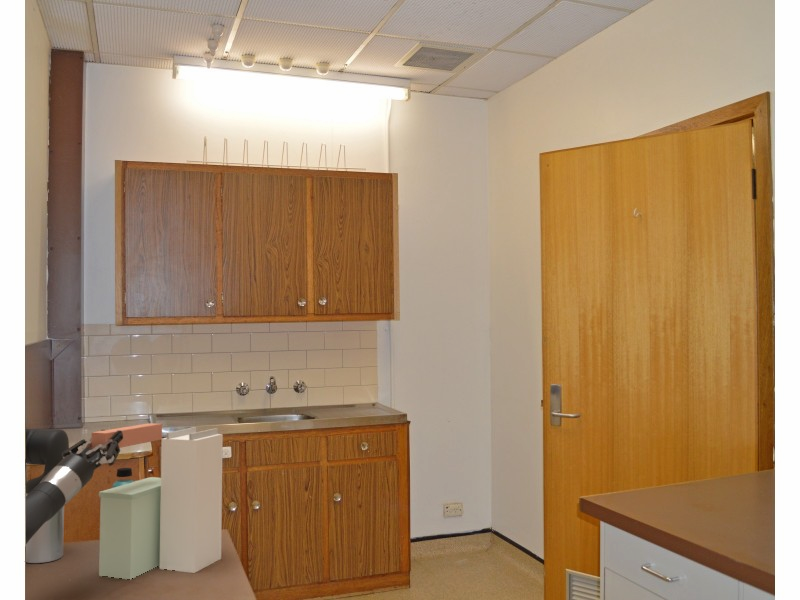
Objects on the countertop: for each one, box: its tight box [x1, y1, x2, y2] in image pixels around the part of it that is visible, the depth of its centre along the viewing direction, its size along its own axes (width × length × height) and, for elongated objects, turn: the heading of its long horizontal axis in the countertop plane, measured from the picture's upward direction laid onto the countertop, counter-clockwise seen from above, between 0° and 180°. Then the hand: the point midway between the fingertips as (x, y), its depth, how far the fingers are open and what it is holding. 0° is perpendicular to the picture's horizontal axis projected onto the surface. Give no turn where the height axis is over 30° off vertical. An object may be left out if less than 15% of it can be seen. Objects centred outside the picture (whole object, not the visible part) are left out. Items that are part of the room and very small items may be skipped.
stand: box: [158, 426, 224, 574], centre depth 185 cm, size 10×12×34 cm
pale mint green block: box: [98, 476, 161, 581], centre depth 183 cm, size 10×20×20 cm, turn 162°
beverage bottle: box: [112, 467, 135, 488], centre depth 207 cm, size 6×7×20 cm
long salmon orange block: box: [90, 422, 163, 450], centre depth 179 cm, size 4×21×4 cm, turn 162°
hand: (112, 433), depth 173 cm, fingers closed on long salmon orange block, 4 cm apart
